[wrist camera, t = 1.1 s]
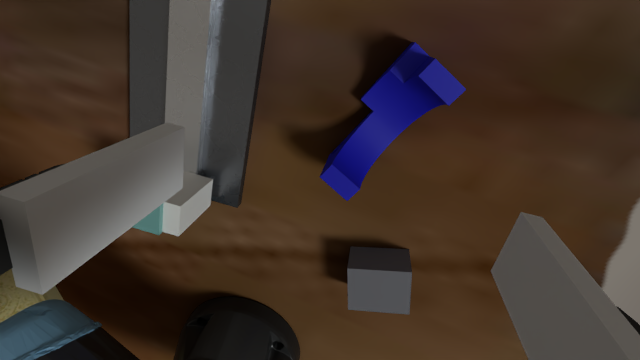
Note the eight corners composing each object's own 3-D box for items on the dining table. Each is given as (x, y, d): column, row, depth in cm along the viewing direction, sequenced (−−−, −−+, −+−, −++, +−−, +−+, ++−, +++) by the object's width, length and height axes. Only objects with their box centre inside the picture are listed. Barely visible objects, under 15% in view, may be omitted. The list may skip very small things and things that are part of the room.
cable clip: (412, 42, 28) (419, 42, 23) (450, 79, 29) (466, 89, 24) (318, 143, 33) (305, 164, 28) (352, 174, 34) (347, 201, 28)
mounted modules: (210, 205, 35) (175, 240, 29) (146, 187, 35) (98, 217, 30) (243, -110, 24) (200, -157, 19) (152, -131, 25) (80, -183, 19)
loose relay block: (406, 287, 38) (409, 314, 34) (351, 283, 39) (348, 309, 35) (408, 248, 36) (411, 272, 32) (350, 245, 37) (347, 268, 33)
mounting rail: (240, 203, 37) (233, 212, 35) (136, 173, 37) (123, 180, 36) (284, -92, 26) (277, -101, 24) (137, -125, 27) (120, -137, 25)
